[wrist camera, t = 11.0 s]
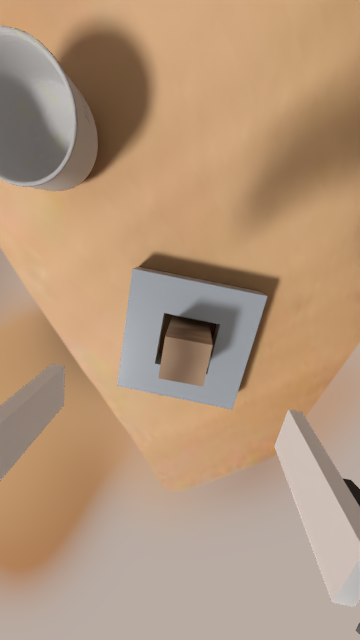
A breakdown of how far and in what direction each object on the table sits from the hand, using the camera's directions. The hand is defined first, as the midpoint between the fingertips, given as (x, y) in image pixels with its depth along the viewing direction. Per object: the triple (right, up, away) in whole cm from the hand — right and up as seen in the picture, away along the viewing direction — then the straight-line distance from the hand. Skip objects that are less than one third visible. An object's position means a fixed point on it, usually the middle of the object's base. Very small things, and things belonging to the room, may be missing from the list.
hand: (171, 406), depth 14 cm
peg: (+2, +3, +19) cm, 19 cm away
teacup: (-14, +26, +13) cm, 32 cm away
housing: (+1, +3, +19) cm, 19 cm away
